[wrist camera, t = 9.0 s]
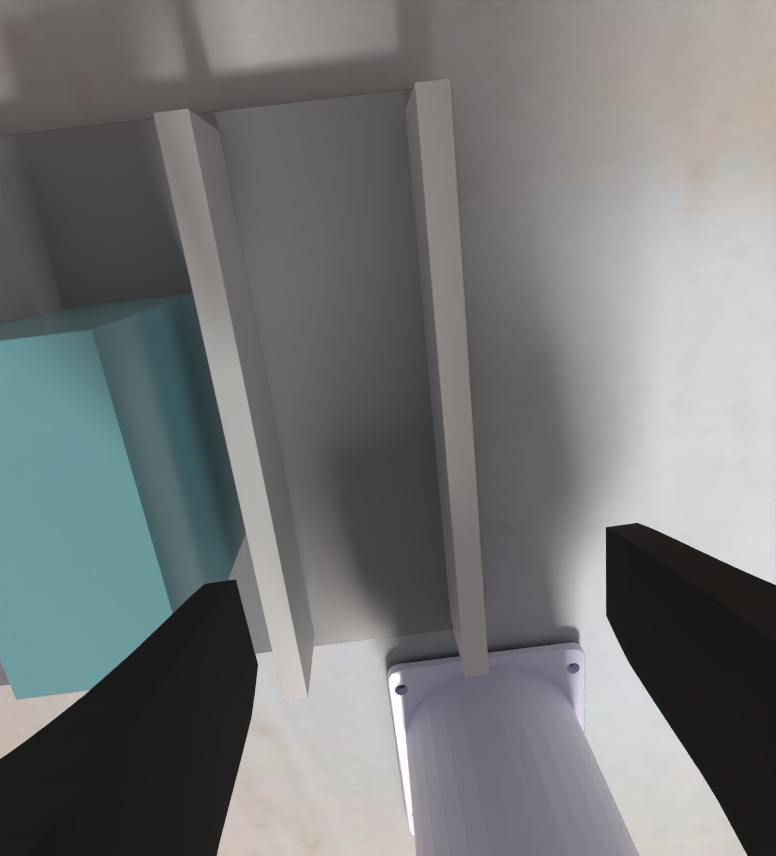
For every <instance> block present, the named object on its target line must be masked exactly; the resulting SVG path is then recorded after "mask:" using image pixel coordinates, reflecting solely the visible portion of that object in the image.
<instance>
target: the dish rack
mask: <svg viewBox="0 0 776 856" xmlns="http://www.w3.org/2000/svg"><path fill="white" fill-rule="evenodd" d="M153 115H154V119H147V120H139V121H130V122H121V123H113V124H104V125H95V126H87V127H78V128H70V129H61V130H52V131H44V132H35V133H27V134H18V135H9V136H1V137H0V324H3V323H8V322H12V321H16V320H20V319H24V318H28V317H32V316H36V315H40V314H44V313H48V312H52V311H56V310H60V309H64V308H73V307H81V306H90V305H98V304H106V303H115V302H123V301H131V300H140V299H148V298H156V297H165V296H173V295H182V294H190V293H193V295H194V300H195V304H196V309H197V313H198V318H199V323H200V327H201V332H202V336H203V341H204V345H205V350H206V354H207V359H208V363H209V368H210V372H211V377H212V381H213V386H214V390H215V395H216V399H217V404H218V408H219V413H220V417H221V422H222V426H223V431H224V435H225V440H226V444H227V449H228V453H229V458H230V462H231V467H232V471H233V476H234V480H235V485H236V489H237V494H238V499H239V503H240V508H241V512H242V517H243V521H244V526H245V530H246V534H245V537H244V539H243V542H242V545H241V547H240V550H239V552H238V555H237V558H236V560H235V563H234V566H233V568H232V571H231V573H230V576H229V579H228V580H235V579H236V581H237V585H238V589H239V593H240V597H241V601H242V605H243V609H244V613H245V616H246V620H247V624H248V628H249V632H250V636H251V640H252V644H253V648H254V652H255V654H256V653H264V652H273V656H274V661H275V666H276V670H277V675H278V679H279V684H280V688H281V693H282V697H283V700H290V699H298V698H306V697H308V690H309V681H310V672H311V663H312V654H313V646H320V645H328V644H335V643H343V642H351V641H359V640H367V639H375V638H383V637H391V636H399V635H407V634H415V633H423V632H431V631H439V630H447V629H453V630H454V634H455V638H456V643H457V647H458V651H459V655H460V659H461V664H462V668H463V672H464V676H465V677H472V676H480V675H487V674H489V664H488V649H487V634H486V619H485V603H484V588H483V573H482V558H481V542H480V527H479V512H478V497H477V481H476V466H475V451H474V436H473V420H472V405H471V390H470V375H469V359H468V344H467V329H466V314H465V298H464V283H463V268H462V253H461V237H460V222H459V207H458V192H457V176H456V161H455V146H454V131H453V115H452V100H451V85H450V78H449V79H440V80H431V81H423V82H415V84H414V87H413V89H406V90H397V91H388V92H380V93H371V94H362V95H354V96H345V97H337V98H328V99H319V100H311V101H302V102H294V103H285V104H276V105H268V106H259V107H250V108H242V109H233V110H225V111H216V112H207V113H199V114H195V113H194V112H192V111H191V110H189V109H181V110H173V111H164V112H156V113H153ZM9 684H10V683H9V680H8V678H7V676H6V673H5V671H4V669H3V666H2V664H1V662H0V686H1V685H9ZM88 691H89V690H88ZM88 691H80V692H78V695H79V698H81V697H83V696H84V695H85V694H86V693H87V692H88Z"/></svg>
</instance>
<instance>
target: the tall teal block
mask: <svg viewBox="0 0 776 856" xmlns="http://www.w3.org/2000/svg"><path fill="white" fill-rule="evenodd" d="M245 534H246V530H245V526H244V521H243V517H242V512H241V508H240V503H239V499H238V494H237V489H236V485H235V480H234V476H233V471H232V467H231V462H230V458H229V453H228V449H227V444H226V440H225V435H224V431H223V426H222V422H221V417H220V413H219V408H218V404H217V399H216V395H215V390H214V386H213V381H212V377H211V372H210V368H209V363H208V359H207V354H206V350H205V345H204V341H203V336H202V332H201V327H200V323H199V318H198V313H197V309H196V304H195V300H194V295H193V293H190V294H182V295H173V296H165V297H156V298H148V299H140V300H131V301H123V302H115V303H106V304H98V305H90V306H81V307H73V308H64V309H60V310H56V311H52V312H48V313H44V314H40V315H36V316H32V317H28V318H24V319H20V320H16V321H12V322H8V323H3V324H0V662H1V664H2V666H3V669H4V671H5V673H6V676H7V678H8V680H9V683H10V685H11V688H12V690H13V692H14V695H15V697H16V699H25V698H33V697H40V696H48V695H56V694H64V693H72V692H80V691H88V690H91V689H92V688H93V687H94V686H95V685H96V684H97V683H98V682H100V681H101V680H102V679H103V678H104V677H105V676H106V675H108V674H109V673H110V672H111V671H112V670H113V669H114V668H115V667H117V666H118V665H119V664H120V663H121V662H122V661H123V660H124V659H126V658H127V657H128V656H129V655H130V654H131V653H132V652H133V651H134V650H135V649H136V648H137V647H139V646H140V645H141V644H142V643H143V642H144V641H145V640H146V639H147V638H148V637H149V636H150V635H151V634H152V633H153V632H154V631H155V630H156V629H157V628H158V627H159V626H160V625H161V624H163V623H164V622H165V621H166V620H167V619H168V618H169V617H170V616H171V615H172V614H173V613H174V612H175V611H176V610H177V609H178V608H179V607H180V606H181V605H182V604H183V603H184V602H185V601H186V600H187V599H188V598H189V597H190V596H191V595H192V594H194V593H195V592H196V591H197V590H198V589H199V588H200V587H202V586H203V585H204V584H207V583H214V582H221V581H228V579H229V576H230V573H231V571H232V568H233V566H234V563H235V560H236V558H237V555H238V552H239V550H240V547H241V545H242V542H243V539H244V537H245Z"/></svg>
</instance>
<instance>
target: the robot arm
mask: <svg viewBox="0 0 776 856" xmlns="http://www.w3.org/2000/svg"><path fill="white" fill-rule="evenodd" d="M606 616H607V618H608V620H609V622H610V625H611V627H612V629H613V631H614V633H615V635H616V637H617V640H618V642H619V644H620V646H621V648H622V650H623V652H624V654H625V656H626V658H627V660H628V662H629V663H630V665H631V667H632V668H633V670H634V671H635V673H636V674H637V676H638V678H639V679H640V681H641V682H642V684H643V685H644V687H645V688H646V690H647V691H648V693H649V695H650V696H651V698H652V699H653V701H654V702H655V704H656V705H657V707H658V708H659V710H660V711H661V713H662V714H663V716H664V717H665V719H666V720H667V722H668V723H669V725H670V726H671V728H672V730H673V731H674V733H675V734H676V736H677V737H678V739H679V740H680V742H681V743H682V745H683V746H684V748H685V749H686V751H687V752H688V754H689V755H690V757H691V758H692V760H693V761H694V763H695V764H696V766H697V767H698V769H699V770H700V772H701V774H702V775H703V777H704V778H705V780H706V782H707V783H708V785H709V787H710V788H711V790H712V792H713V793H714V795H715V797H716V798H717V800H718V802H719V803H720V805H721V807H722V809H723V811H724V813H725V815H726V816H727V818H728V820H729V822H730V824H731V826H732V828H733V829H734V831H735V833H736V835H737V837H738V839H739V841H740V842H741V844H742V846H743V848H744V850H745V852H746V854H747V856H776V585H774V584H772V583H769V582H767V581H765V580H762V579H760V578H758V577H755V576H753V575H751V574H749V573H746V572H744V571H742V570H740V569H737V568H735V567H733V566H731V565H729V564H727V563H724V562H722V561H720V560H718V559H716V558H714V557H711V556H709V555H707V554H705V553H703V552H701V551H699V550H697V549H695V548H692V547H690V546H688V545H686V544H684V543H682V542H680V541H678V540H676V539H673V538H671V537H669V536H667V535H665V534H663V533H661V532H658V531H656V530H654V529H651V528H649V527H647V526H644V525H641V524H639V523H634V524H627V525H619V526H612V527H606ZM572 663H575V664H574V665H573V666H570V667H569V665H570V664H572ZM488 664H489V674H487V675H480V676H472V677H465V676H464V672H463V668H462V664H461V659H460V656H458V657H450V658H442V659H435V660H427V661H419V662H411V663H403V664H397V665H394V666H392V667H391V668H390V669H389V670H388V674H387V678H388V687H389V694H390V701H391V708H392V715H393V722H394V729H395V736H396V743H397V751H398V758H399V765H400V772H401V779H402V786H403V793H404V800H405V807H406V814H407V821H408V829H409V832H410V833H411V834H412V835H413V836H415V844H416V855H417V856H639V854H638V852H637V850H636V847H635V845H634V843H633V841H632V838H631V836H630V834H629V832H628V830H627V827H626V825H625V823H624V821H623V819H622V816H621V814H620V812H619V810H618V808H617V805H616V803H615V801H614V799H613V796H612V794H611V792H610V790H609V788H608V785H607V783H606V781H605V779H604V777H603V774H602V772H601V770H600V768H599V765H598V763H597V761H596V759H595V757H594V754H593V752H592V750H591V748H590V746H589V743H588V741H587V739H586V737H585V654H584V651H583V649H582V648H581V646H580V645H579V644H577V643H573V642H569V643H561V644H553V645H545V646H538V647H530V648H522V649H514V650H506V651H498V652H490V653H488ZM257 669H258V663H257V659H256V655H255V652H254V648H253V644H252V640H251V636H250V632H249V628H248V624H247V620H246V616H245V613H244V609H243V605H242V601H241V597H240V593H239V589H238V585H237V581H236V579H235V580H228V581H221V582H214V583H207V584H204V585H203V586H202V587H200V588H199V589H198V590H197V591H196V592H195V593H194V594H192V595H191V596H190V597H189V598H188V599H187V600H186V601H185V602H184V603H183V604H182V605H181V606H180V607H179V608H178V609H177V610H176V611H175V612H174V613H173V614H172V615H171V616H170V617H169V618H168V619H167V620H166V621H165V622H164V623H163V624H161V625H160V626H159V627H158V628H157V629H156V630H155V631H154V632H153V633H152V634H151V635H150V636H149V637H148V638H147V639H146V640H145V641H144V642H143V643H142V644H141V645H140V646H139V647H137V648H136V649H135V650H134V651H133V652H132V653H131V654H130V655H129V656H128V657H127V658H126V659H124V660H123V661H122V662H121V663H120V664H119V665H118V666H117V667H115V668H114V669H113V670H112V671H111V672H110V673H109V674H108V675H106V676H105V677H104V678H103V679H102V680H101V681H100V682H98V683H97V684H96V685H95V686H94V687H93V688H92V689H91V690H89V691H88V692H87V693H86V694H85V695H84V696H83V697H81V698H80V699H79V700H78V701H77V702H75V703H74V704H73V705H72V706H70V707H69V708H68V709H67V710H65V711H64V712H63V713H62V714H60V715H59V716H58V717H57V718H55V719H54V720H53V721H51V722H50V723H49V724H48V725H46V726H45V727H44V728H42V729H41V730H40V731H38V732H37V733H36V734H34V735H33V736H32V737H30V738H29V739H28V740H26V741H25V742H24V743H22V744H21V745H20V746H18V747H17V748H15V749H14V750H13V751H11V752H10V753H8V754H7V755H5V756H4V757H2V758H1V759H0V856H217V851H218V847H219V842H220V838H221V834H222V831H223V827H224V823H225V819H226V815H227V811H228V807H229V803H230V800H231V796H232V792H233V788H234V784H235V780H236V776H237V772H238V769H239V765H240V761H241V757H242V753H243V749H244V745H245V741H246V737H247V733H248V729H249V725H250V721H251V716H252V709H253V702H254V695H255V686H256V677H257ZM399 685H405V687H403V688H398V687H397V686H399Z"/></svg>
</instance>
